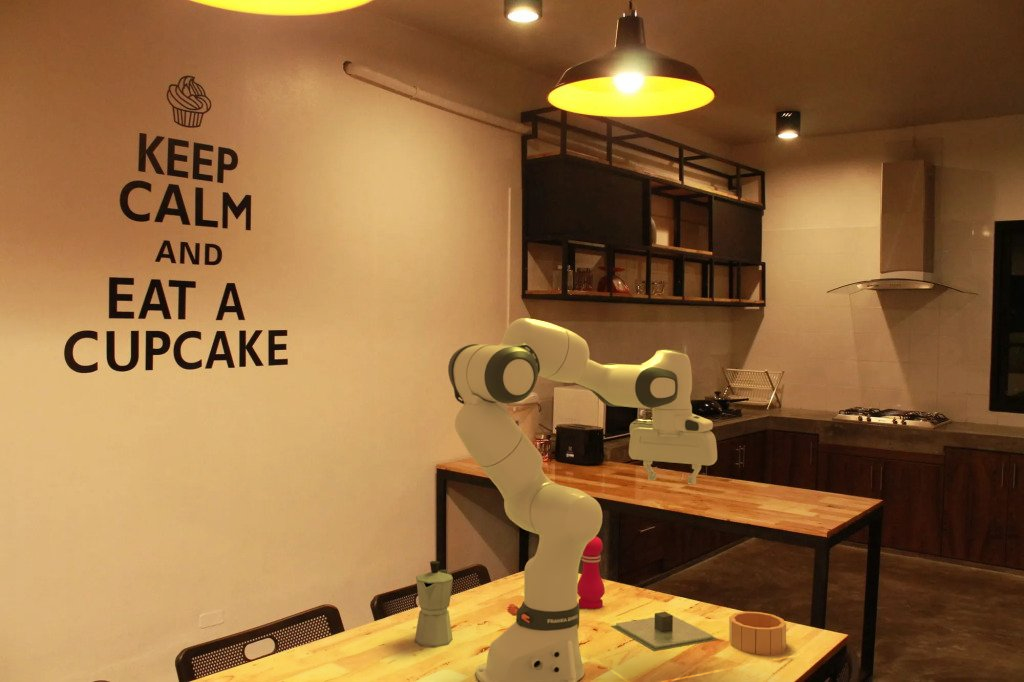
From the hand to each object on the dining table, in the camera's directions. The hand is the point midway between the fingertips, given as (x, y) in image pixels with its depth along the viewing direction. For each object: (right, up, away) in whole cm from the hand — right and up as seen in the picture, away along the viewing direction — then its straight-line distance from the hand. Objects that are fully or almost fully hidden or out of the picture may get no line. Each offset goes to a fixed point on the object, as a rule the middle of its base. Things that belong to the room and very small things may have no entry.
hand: (671, 481), depth 190 cm
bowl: (+19, -37, -1) cm, 42 cm away
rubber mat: (-1, -37, +6) cm, 38 cm away
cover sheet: (-1, -37, +6) cm, 37 cm away
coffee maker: (-54, -37, +2) cm, 65 cm away
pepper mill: (-16, -37, +27) cm, 49 cm away
